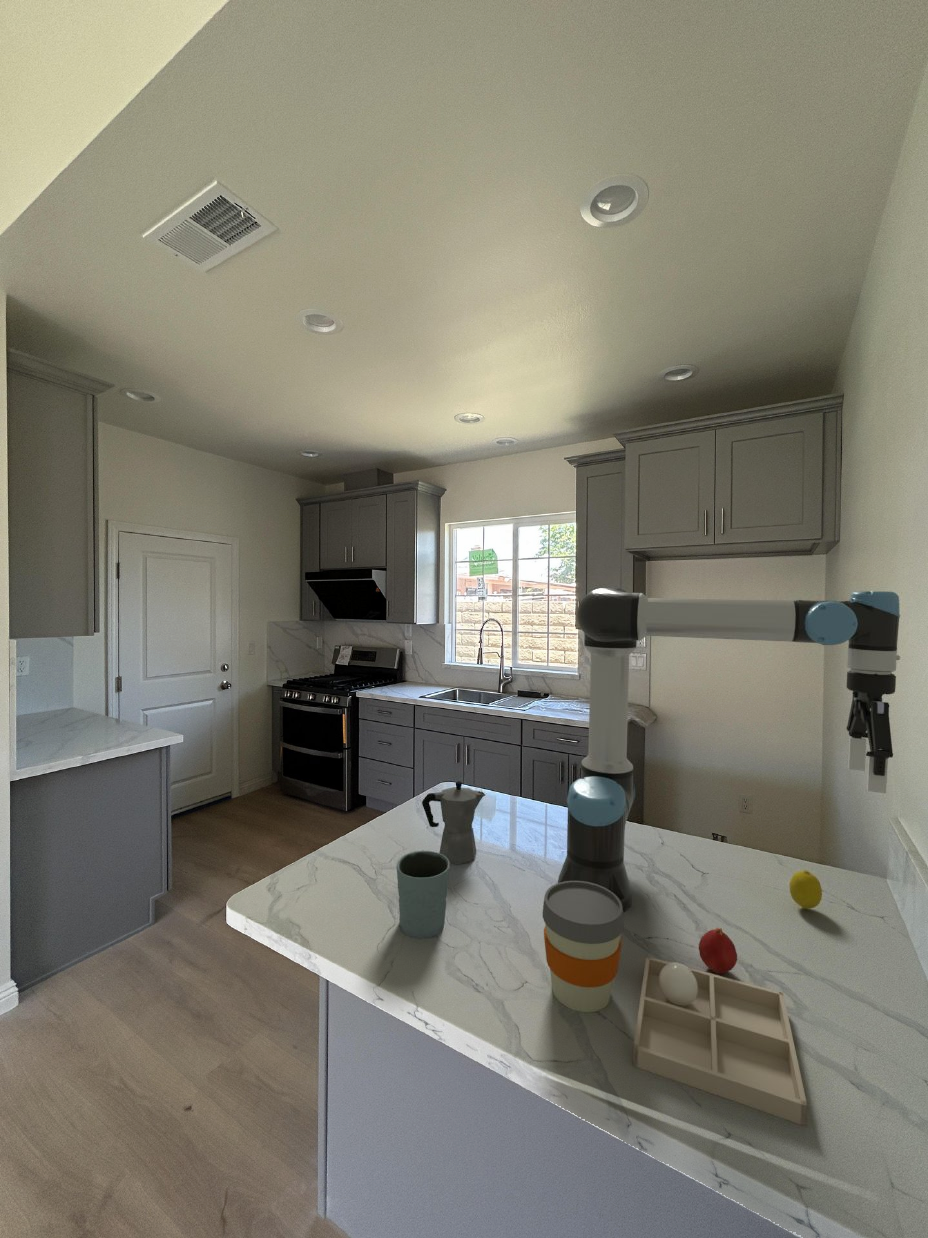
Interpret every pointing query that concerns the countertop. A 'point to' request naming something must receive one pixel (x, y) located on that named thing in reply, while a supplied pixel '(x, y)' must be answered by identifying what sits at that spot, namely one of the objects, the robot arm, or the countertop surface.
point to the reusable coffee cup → (582, 942)
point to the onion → (717, 951)
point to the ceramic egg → (678, 984)
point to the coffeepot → (456, 821)
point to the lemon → (805, 889)
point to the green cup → (422, 892)
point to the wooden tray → (722, 1042)
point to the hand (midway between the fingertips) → (865, 780)
